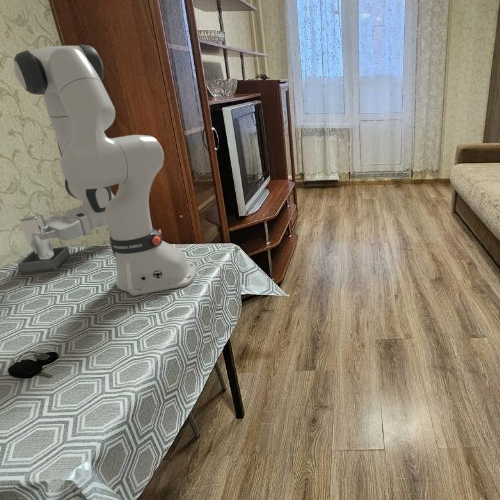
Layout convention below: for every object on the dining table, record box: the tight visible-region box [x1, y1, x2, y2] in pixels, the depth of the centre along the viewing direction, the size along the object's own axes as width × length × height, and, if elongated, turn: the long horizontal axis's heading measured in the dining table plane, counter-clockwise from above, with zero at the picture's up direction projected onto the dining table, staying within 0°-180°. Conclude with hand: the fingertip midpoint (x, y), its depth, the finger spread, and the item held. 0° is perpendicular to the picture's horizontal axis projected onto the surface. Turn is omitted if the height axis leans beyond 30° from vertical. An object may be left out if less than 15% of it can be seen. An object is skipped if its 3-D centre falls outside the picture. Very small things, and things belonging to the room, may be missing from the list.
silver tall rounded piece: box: [20, 214, 56, 261], centre depth 119 cm, size 7×7×15 cm
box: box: [17, 246, 71, 275], centre depth 123 cm, size 11×11×4 cm
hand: (33, 234), depth 118 cm, fingers open, 8 cm apart
